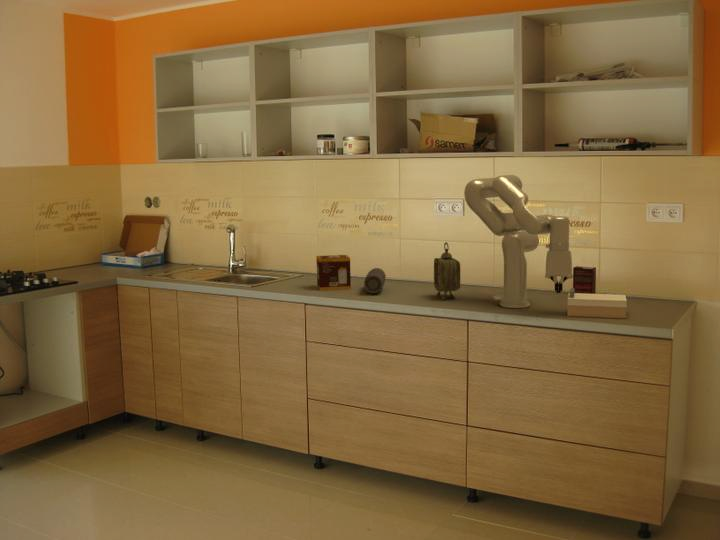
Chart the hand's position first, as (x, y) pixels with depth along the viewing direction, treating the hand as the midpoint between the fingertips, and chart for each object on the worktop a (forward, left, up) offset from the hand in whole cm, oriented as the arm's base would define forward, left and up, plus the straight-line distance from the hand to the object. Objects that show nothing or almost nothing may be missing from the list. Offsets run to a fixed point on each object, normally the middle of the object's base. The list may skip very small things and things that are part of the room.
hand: (558, 292), depth 319 cm
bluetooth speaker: (-85, +33, -9) cm, 92 cm away
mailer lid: (+15, 0, -4) cm, 15 cm away
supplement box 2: (+10, +20, -9) cm, 24 cm away
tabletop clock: (-49, +23, -9) cm, 55 cm away
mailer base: (+15, 0, -8) cm, 17 cm away
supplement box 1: (-107, +37, -9) cm, 114 cm away
